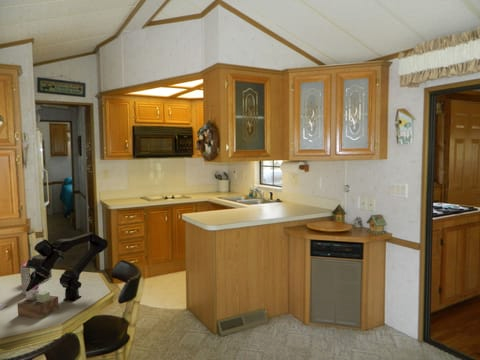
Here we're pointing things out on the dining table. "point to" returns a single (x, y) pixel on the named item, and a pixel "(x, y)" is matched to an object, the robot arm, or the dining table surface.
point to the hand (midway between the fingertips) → (28, 290)
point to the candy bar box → (26, 278)
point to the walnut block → (37, 308)
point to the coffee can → (40, 258)
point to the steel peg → (31, 295)
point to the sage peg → (43, 296)
